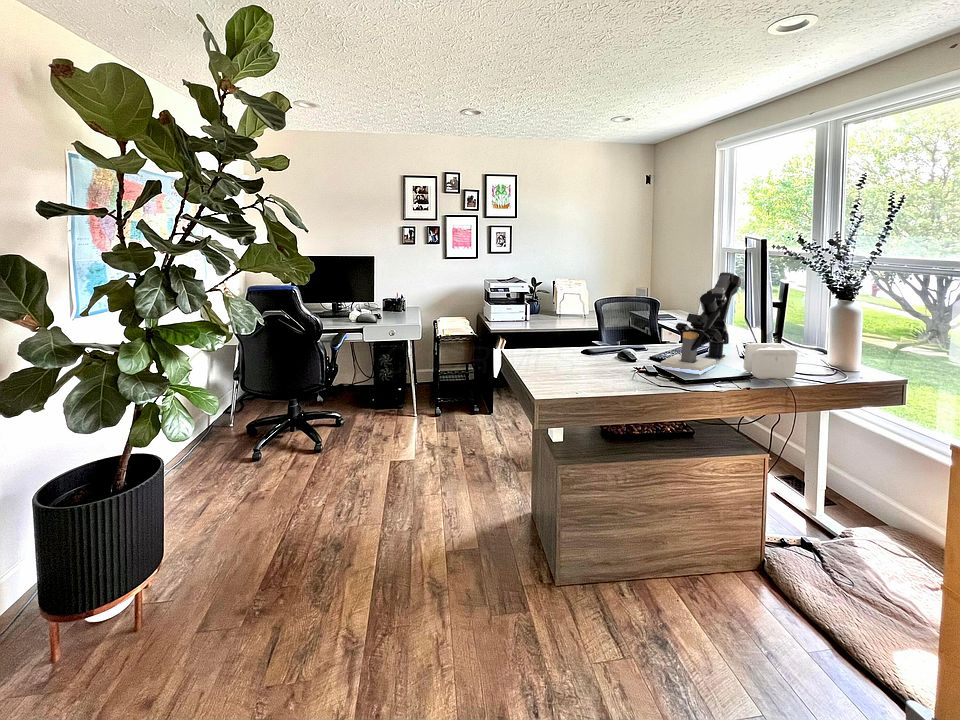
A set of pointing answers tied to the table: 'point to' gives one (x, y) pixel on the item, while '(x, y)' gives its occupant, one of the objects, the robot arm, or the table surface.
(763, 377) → the cable organizer
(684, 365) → the socket block
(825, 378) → the table surface
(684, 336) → the plug
